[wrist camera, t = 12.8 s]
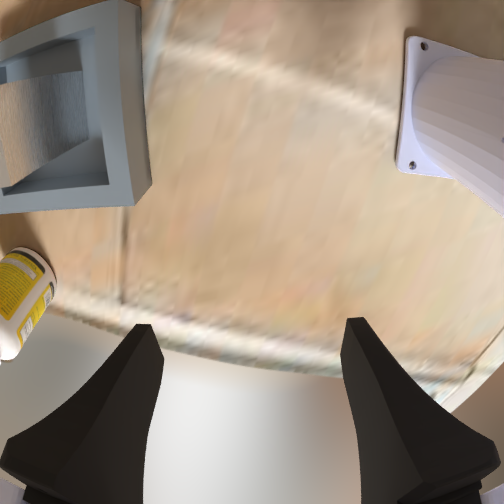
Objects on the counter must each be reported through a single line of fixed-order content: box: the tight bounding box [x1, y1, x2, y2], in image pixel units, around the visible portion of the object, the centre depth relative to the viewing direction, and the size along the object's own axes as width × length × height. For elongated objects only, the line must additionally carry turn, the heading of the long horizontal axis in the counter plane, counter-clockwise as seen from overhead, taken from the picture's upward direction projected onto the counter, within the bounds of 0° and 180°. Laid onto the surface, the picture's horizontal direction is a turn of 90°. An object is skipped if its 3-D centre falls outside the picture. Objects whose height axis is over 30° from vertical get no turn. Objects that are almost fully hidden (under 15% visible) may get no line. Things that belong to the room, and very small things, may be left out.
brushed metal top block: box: [0, 71, 90, 188], centre depth 11 cm, size 4×4×7 cm
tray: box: [0, 0, 152, 214], centre depth 14 cm, size 10×10×3 cm
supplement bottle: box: [0, 247, 57, 364], centre depth 17 cm, size 5×5×10 cm
